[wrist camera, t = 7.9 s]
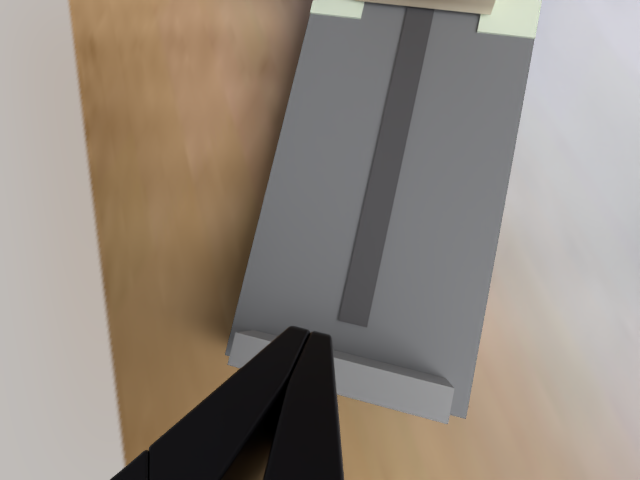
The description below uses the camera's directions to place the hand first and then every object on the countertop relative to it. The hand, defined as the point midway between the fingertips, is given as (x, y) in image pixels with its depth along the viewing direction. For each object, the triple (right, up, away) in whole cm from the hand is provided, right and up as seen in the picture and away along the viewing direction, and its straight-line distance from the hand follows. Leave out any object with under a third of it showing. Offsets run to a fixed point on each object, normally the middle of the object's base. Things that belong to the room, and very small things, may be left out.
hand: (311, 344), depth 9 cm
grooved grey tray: (+4, +6, +13) cm, 15 cm away
